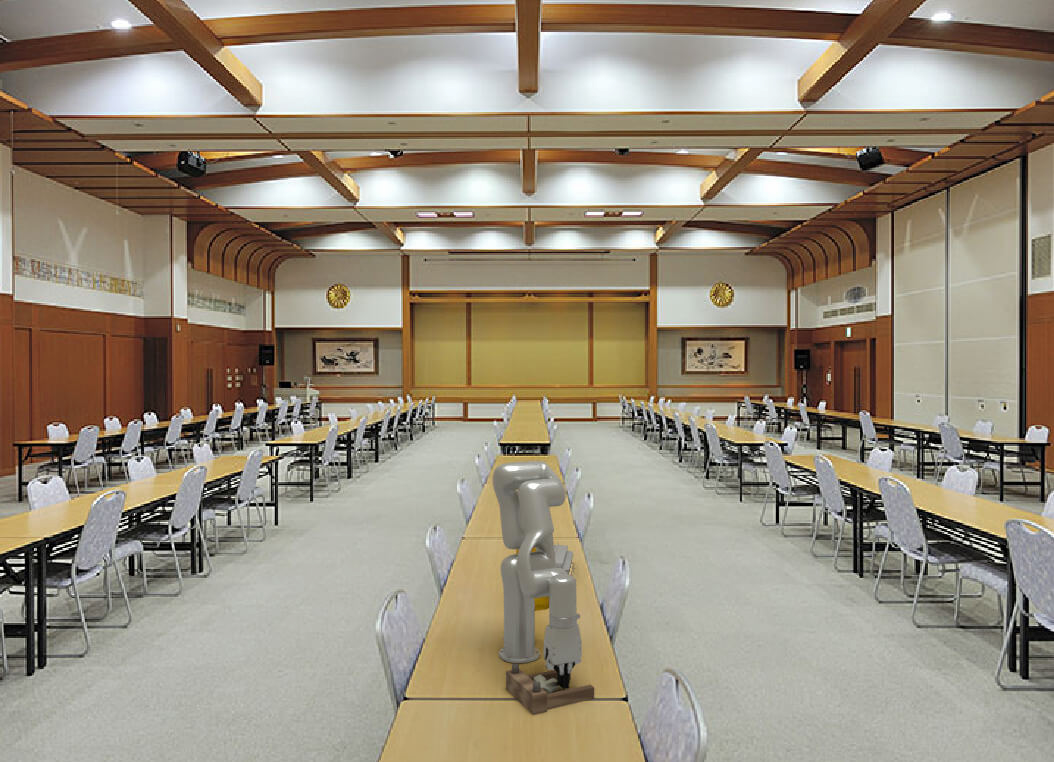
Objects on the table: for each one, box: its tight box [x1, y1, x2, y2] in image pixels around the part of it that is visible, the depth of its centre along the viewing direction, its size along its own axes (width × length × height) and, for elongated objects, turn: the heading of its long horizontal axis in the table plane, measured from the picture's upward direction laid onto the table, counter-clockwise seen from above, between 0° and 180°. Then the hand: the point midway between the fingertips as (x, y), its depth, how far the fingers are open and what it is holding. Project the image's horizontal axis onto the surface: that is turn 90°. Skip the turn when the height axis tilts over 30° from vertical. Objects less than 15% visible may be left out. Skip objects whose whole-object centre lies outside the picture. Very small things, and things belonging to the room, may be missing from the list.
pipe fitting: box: [533, 675, 560, 694], centre depth 202 cm, size 8×4×7 cm
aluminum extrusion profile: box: [554, 542, 574, 575], centre depth 319 cm, size 14×31×10 cm, turn 173°
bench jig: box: [505, 663, 595, 716], centre depth 202 cm, size 17×19×7 cm
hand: (563, 687), depth 203 cm, fingers closed
